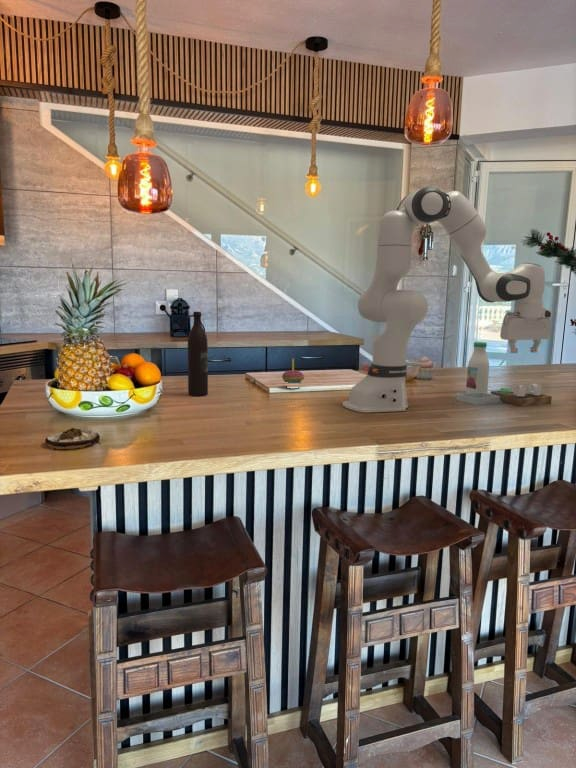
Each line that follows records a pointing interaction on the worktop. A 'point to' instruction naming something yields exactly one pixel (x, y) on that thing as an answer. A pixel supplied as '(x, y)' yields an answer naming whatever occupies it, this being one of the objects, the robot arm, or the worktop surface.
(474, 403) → the tray
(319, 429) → the worktop surface
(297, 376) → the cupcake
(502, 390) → the button
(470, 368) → the milk bottle
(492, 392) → the console
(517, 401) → the pallet
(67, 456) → the worktop surface
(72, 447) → the chocolate cream tart
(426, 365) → the cupcake
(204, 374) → the wine bottle
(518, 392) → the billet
